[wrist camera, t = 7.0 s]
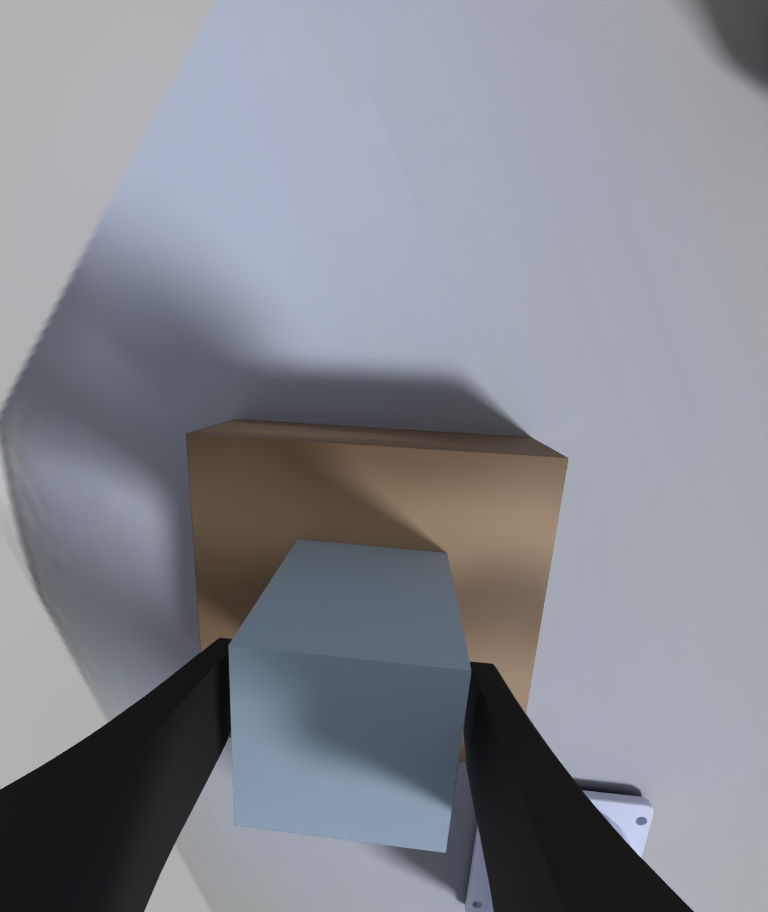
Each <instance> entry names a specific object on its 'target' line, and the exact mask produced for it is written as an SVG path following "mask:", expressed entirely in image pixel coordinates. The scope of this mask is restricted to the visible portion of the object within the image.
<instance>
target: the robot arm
mask: <svg viewBox="0 0 768 912" xmlns="http://www.w3.org/2000/svg"><path fill="white" fill-rule="evenodd" d="M231 641H232V639H229V638H218V639H217V640H216V641H215V642H213V643H212V644H211V645H209V646H208V647H207V648H206V649H204V650H203V651H202V652H201V653H199V654H198V655H197V656H196V657H194V658H193V659H192V660H191V661H189V662H188V663H187V664H186V665H184V666H183V667H182V668H181V669H179V670H178V671H177V672H176V673H174V674H173V675H172V676H170V677H169V678H168V679H167V680H165V681H164V682H163V683H161V684H160V685H159V686H158V687H156V688H155V689H154V690H152V691H151V692H150V693H149V694H147V695H146V696H145V697H143V698H142V699H140V700H139V701H138V702H136V703H135V704H133V705H132V706H131V707H129V708H128V709H126V710H125V711H124V712H122V713H121V714H120V715H118V716H117V717H115V718H114V719H113V720H111V721H110V722H108V723H107V724H106V725H104V726H103V727H101V728H100V729H98V730H97V731H95V732H94V733H93V734H91V735H90V736H88V737H86V738H85V739H83V740H82V741H80V742H79V743H77V744H76V745H74V746H73V747H71V748H69V749H68V750H66V751H65V752H63V753H62V754H60V755H58V756H57V757H56V758H54V759H52V760H51V761H49V762H47V763H46V764H44V765H42V766H41V767H39V768H37V769H36V770H34V771H32V772H30V773H28V774H27V775H25V776H23V777H21V778H20V779H18V780H16V781H15V782H13V783H11V784H9V785H8V786H6V787H4V788H2V789H0V912H144V910H145V908H146V906H147V903H148V901H149V898H150V896H151V894H152V892H153V889H154V887H155V885H156V882H157V880H158V878H159V875H160V873H161V871H162V869H163V867H164V865H165V863H166V861H167V858H168V856H169V854H170V852H171V850H172V848H173V846H174V844H175V842H176V840H177V838H178V836H179V834H180V832H181V830H182V828H183V826H184V825H185V823H186V821H187V819H188V817H189V815H190V813H191V811H192V809H193V807H194V805H195V803H196V801H197V799H198V797H199V795H200V793H201V792H202V790H203V788H204V786H205V784H206V782H207V780H208V778H209V776H210V774H211V772H212V770H213V768H214V766H215V764H216V762H217V760H218V758H219V756H220V754H221V752H222V750H223V748H224V746H225V744H226V742H227V740H228V737H229V735H230V733H231V708H230V677H229V646H228V645H229V644H230V642H231ZM470 666H471V678H470V685H469V692H468V699H467V706H466V713H465V720H464V727H463V734H464V745H465V755H466V764H467V771H468V777H469V782H470V787H471V793H472V798H473V803H474V809H475V814H476V819H477V830H476V836H475V843H474V850H473V857H472V863H471V870H470V877H469V883H468V890H467V897H466V903H465V912H694V911H693V910H692V909H691V908H690V907H689V906H688V905H687V904H686V903H685V902H684V901H683V900H682V899H681V898H680V897H679V896H678V895H677V894H676V893H675V892H674V891H673V890H672V889H671V888H670V887H669V886H668V885H667V884H666V883H665V882H664V881H663V880H662V879H661V878H660V877H659V876H658V875H657V874H656V873H655V872H654V871H653V870H652V869H651V867H650V866H649V865H648V864H647V863H646V862H645V861H644V860H643V859H642V858H641V856H642V852H643V849H644V846H645V842H646V839H647V835H648V832H649V828H650V825H651V821H652V818H653V814H654V809H653V808H652V806H651V804H650V802H649V800H647V799H646V798H644V797H639V796H630V795H621V794H612V793H603V792H594V791H585V790H582V789H581V788H580V787H579V786H578V784H577V783H576V782H575V781H574V779H573V778H572V777H571V775H570V774H569V773H568V772H567V770H566V769H565V768H564V766H563V765H562V764H561V762H560V761H559V760H558V759H557V757H556V756H555V754H554V753H553V752H552V750H551V749H550V748H549V746H548V745H547V744H546V742H545V741H544V739H543V738H542V736H541V735H540V734H539V732H538V731H537V729H536V728H535V726H534V725H533V724H532V722H531V721H530V719H529V718H528V716H527V715H526V713H525V712H524V710H523V709H522V707H521V706H520V704H519V703H518V701H517V700H516V698H515V697H514V695H513V693H512V692H511V690H510V689H509V687H508V686H507V684H506V682H505V681H504V679H503V677H502V676H501V674H500V673H499V671H498V669H497V668H496V666H495V665H494V664H492V663H481V662H471V661H470Z"/></svg>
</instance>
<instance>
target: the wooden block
mask: <svg viewBox="0 0 768 912" xmlns="http://www.w3.org/2000/svg"><path fill="white" fill-rule="evenodd" d="M186 441H187V456H188V470H189V485H190V500H191V514H192V529H193V543H194V558H195V573H196V587H197V602H198V616H199V631H200V646H201V652H202V651H203V650H204V649H206V648H207V647H208V646H209V645H211V644H212V643H213V642H215V641H216V640H217V639H218V638H229V639H233V637H234V636H235V634H236V633H237V631H238V630H239V628H240V627H241V625H242V624H243V622H244V621H245V619H246V618H247V616H248V614H249V613H250V611H251V610H252V608H253V607H254V605H255V604H256V602H257V601H258V599H259V598H260V596H261V595H262V593H263V592H264V590H265V588H266V587H267V585H268V584H269V582H270V581H271V579H272V578H273V576H274V575H275V573H276V572H277V570H278V569H279V567H280V565H281V564H282V562H283V561H284V559H285V558H286V556H287V555H288V553H289V552H290V550H291V549H292V547H293V546H294V544H295V543H296V541H297V539H299V540H310V541H321V542H332V543H343V544H354V545H365V546H376V547H387V548H398V549H409V550H420V551H431V552H442V553H447V555H448V560H449V565H450V569H451V574H452V579H453V584H454V589H455V594H456V598H457V603H458V608H459V613H460V618H461V623H462V627H463V632H464V637H465V642H466V647H467V652H468V656H469V661H471V662H481V663H492V664H494V665H495V666H496V668H497V669H498V671H499V673H500V674H501V676H502V677H503V679H504V681H505V682H506V684H507V686H508V687H509V689H510V690H511V692H512V693H513V695H514V697H515V698H516V700H517V701H518V703H519V704H520V706H521V707H522V709H523V710H524V712H525V713H526V708H527V702H528V696H529V690H530V684H531V678H532V672H533V666H534V660H535V655H536V649H537V643H538V637H539V631H540V625H541V619H542V613H543V607H544V601H545V595H546V589H547V583H548V577H549V571H550V565H551V559H552V553H553V547H554V541H555V535H556V529H557V523H558V517H559V511H560V505H561V499H562V493H563V487H564V481H565V475H566V469H567V463H568V458H567V457H565V456H564V455H562V454H560V453H558V452H556V451H555V450H553V449H551V448H549V447H548V446H546V445H544V444H542V443H540V442H539V441H537V440H535V439H533V438H531V437H514V436H498V435H482V434H465V433H449V432H433V431H417V430H400V429H384V428H368V427H351V426H335V425H319V424H303V423H286V422H270V421H254V420H237V419H235V420H232V421H228V422H225V423H221V424H218V425H214V426H211V427H207V428H204V429H201V430H197V431H194V432H190V433H187V434H186ZM229 737H231V733H230V735H229ZM459 762H466V755H465V745H464V734H462V741H461V748H460V755H459Z"/></svg>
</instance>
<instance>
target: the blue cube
mask: <svg viewBox="0 0 768 912" xmlns="http://www.w3.org/2000/svg"><path fill="white" fill-rule="evenodd" d="M228 646H229V677H230V708H231V740H232V771H233V802H234V826H240V827H248V828H255V829H263V830H271V831H279V832H287V833H294V834H302V835H310V836H318V837H326V838H333V839H341V840H349V841H357V842H364V843H372V844H380V845H388V846H396V847H403V848H411V849H419V850H427V851H435V852H442V853H446V847H447V840H448V833H449V826H450V819H451V812H452V805H453V798H454V791H455V784H456V777H457V770H458V762H459V755H460V748H461V741H462V734H463V727H464V720H465V713H466V706H467V699H468V692H469V685H470V678H471V666H470V661H469V656H468V652H467V647H466V642H465V637H464V632H463V627H462V623H461V618H460V613H459V608H458V603H457V598H456V594H455V589H454V584H453V579H452V574H451V569H450V565H449V560H448V555H447V553H442V552H431V551H420V550H409V549H398V548H387V547H376V546H365V545H354V544H343V543H332V542H321V541H310V540H299V539H297V541H296V543H295V544H294V546H293V547H292V549H291V550H290V552H289V553H288V555H287V556H286V558H285V559H284V561H283V562H282V564H281V565H280V567H279V569H278V570H277V572H276V573H275V575H274V576H273V578H272V579H271V581H270V582H269V584H268V585H267V587H266V588H265V590H264V592H263V593H262V595H261V596H260V598H259V599H258V601H257V602H256V604H255V605H254V607H253V608H252V610H251V611H250V613H249V614H248V616H247V618H246V619H245V621H244V622H243V624H242V625H241V627H240V628H239V630H238V631H237V633H236V634H235V636H234V637H233V639H232V641H231V642H230V644H229V645H228Z"/></svg>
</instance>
